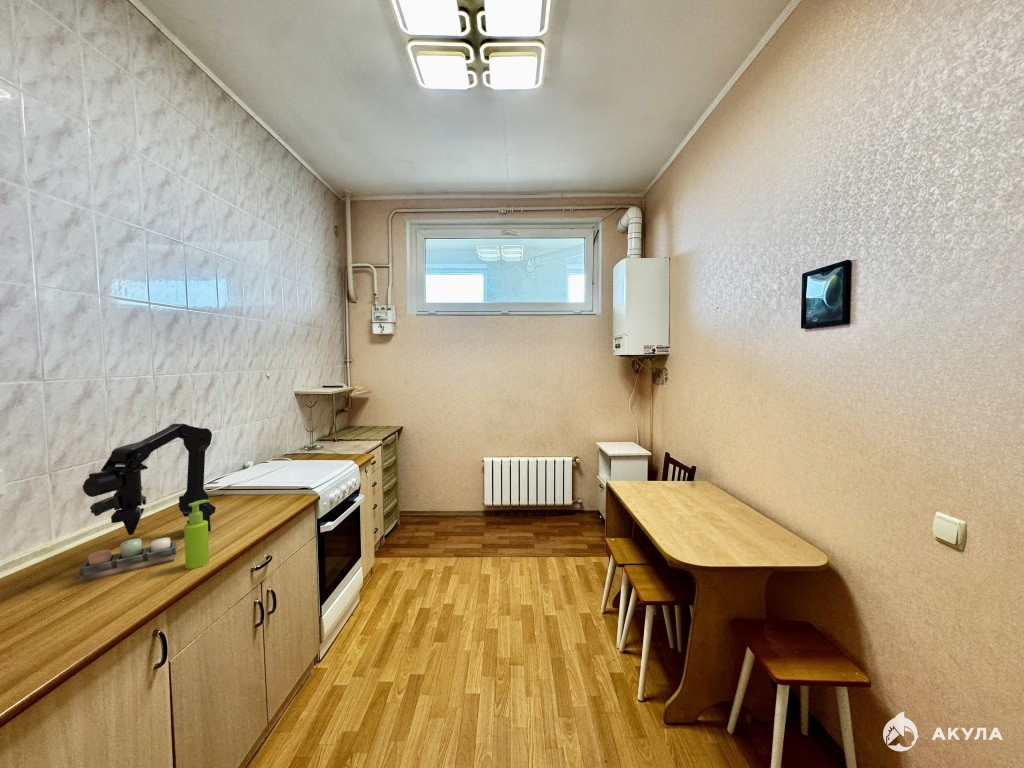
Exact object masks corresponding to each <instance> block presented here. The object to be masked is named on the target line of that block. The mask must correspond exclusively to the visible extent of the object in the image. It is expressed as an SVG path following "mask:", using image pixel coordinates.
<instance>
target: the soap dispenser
mask: <svg viewBox="0 0 1024 768" xmlns="http://www.w3.org/2000/svg"><path fill="white" fill-rule="evenodd" d="M205 502H209V503H210V502H211V499H209V500H199V501H196V502H193V503H190V504H189V506H192V512H191V513H190V514H189V517H188V520H189V523H188V524H187V523H186V524H184V526H183V530H184V531H183V532H184V533H183V535H184V558H185V559H184V560H185V563H184V564H185V569H188V570H193V569H199V568H202V567H204V566H206V565H208V564H209V563H210V550H209V549H210V548H209V546H210V544H209V543H210V542H209V531H208V521H205V520H203V512H202V511H199V504H202V503H205Z"/></svg>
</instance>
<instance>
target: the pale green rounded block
mask: <svg viewBox="0 0 1024 768" xmlns="http://www.w3.org/2000/svg"><path fill="white" fill-rule="evenodd" d="M142 544H143V543H142V538H133V539H128V540H126V541H123V542H121V543H120V553H121V557H122V558H128V557H133V556H136V555H138V554H140V553H142V548H143V547H142V546H143V545H142Z"/></svg>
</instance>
